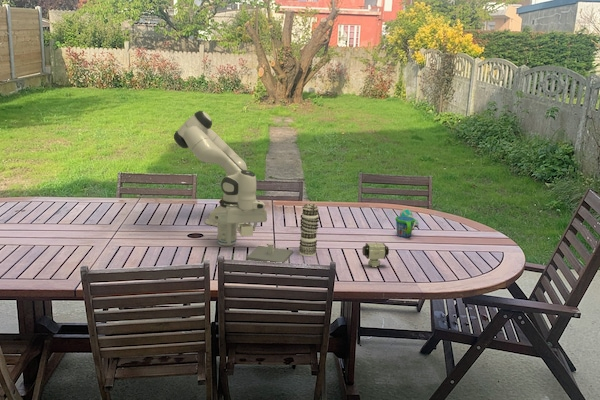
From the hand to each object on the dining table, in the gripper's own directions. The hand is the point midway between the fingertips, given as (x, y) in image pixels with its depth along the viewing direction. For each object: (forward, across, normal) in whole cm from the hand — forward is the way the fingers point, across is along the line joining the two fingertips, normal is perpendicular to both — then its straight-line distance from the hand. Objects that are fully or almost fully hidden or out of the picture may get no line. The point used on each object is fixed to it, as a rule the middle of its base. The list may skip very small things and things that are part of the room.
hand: (246, 230), depth 297 cm
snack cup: (+11, +92, +11) cm, 93 cm away
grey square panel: (+10, +10, -10) cm, 18 cm away
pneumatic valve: (+10, +56, -31) cm, 65 cm away
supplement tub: (+10, -8, +11) cm, 17 cm away
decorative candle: (+10, +29, -9) cm, 33 cm away
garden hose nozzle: (+12, +105, +32) cm, 111 cm away
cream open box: (+2, 0, 0) cm, 2 cm away
